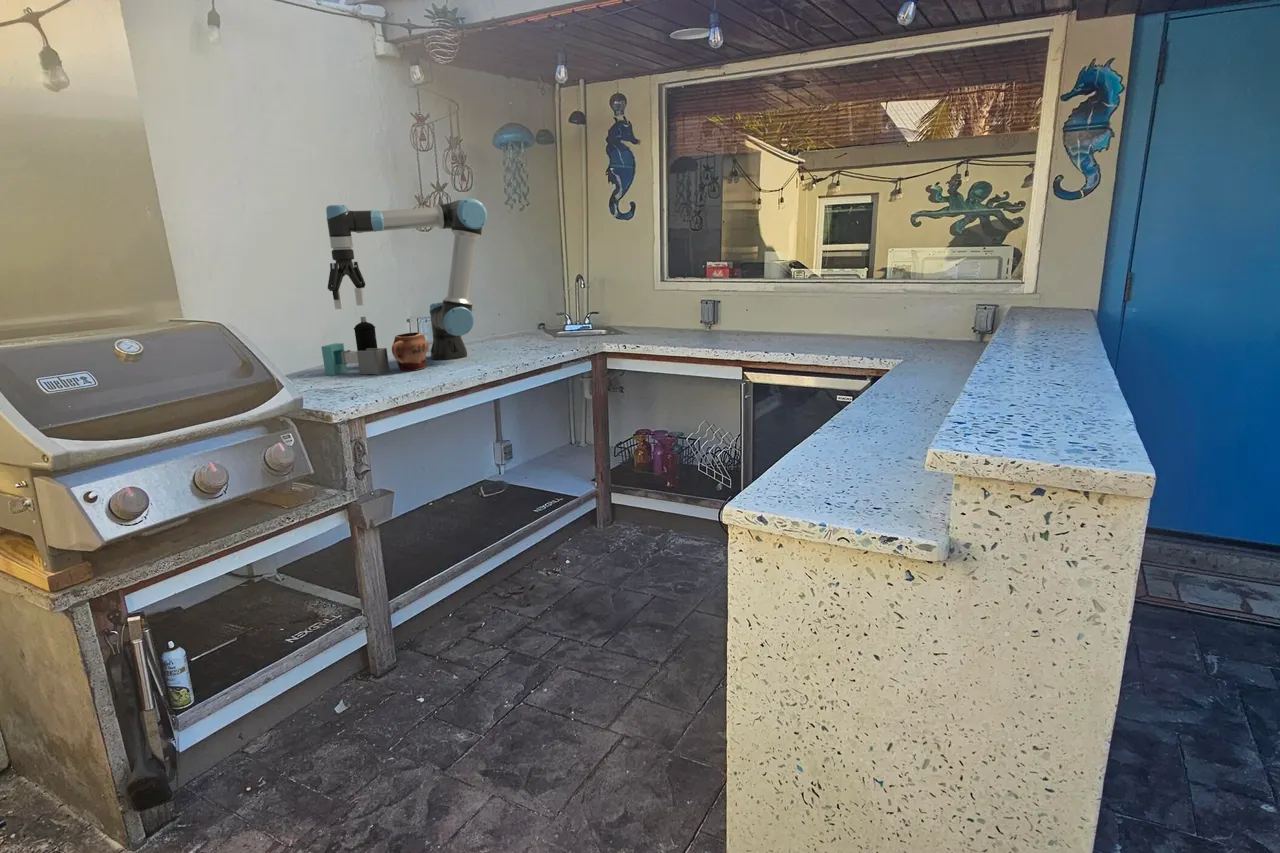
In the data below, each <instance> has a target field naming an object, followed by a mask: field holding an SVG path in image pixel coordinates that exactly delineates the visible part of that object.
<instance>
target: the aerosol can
mask: <svg viewBox="0 0 1280 853" xmlns="http://www.w3.org/2000/svg"><path fill="white" fill-rule="evenodd" d="M353 330H354V336H355V343H356V351H366V349H367V348H378V344H377V343H378V341H377V335H376V326H375V325H374V324H372V322H368V321H367V318H366V316H360V322H359V323H357V324H356V325H355V326H354V327H353Z"/></svg>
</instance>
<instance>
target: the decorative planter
mask: <svg viewBox="0 0 1280 853" xmlns="http://www.w3.org/2000/svg"><path fill="white" fill-rule="evenodd" d="M429 343H430V342H428V340H427V339H426V337H425V336H424V333H422V332H407V333H401V334H397V335H395V337H394V340H393V343H392V346H391V354H392V355H393V357H394V359H395V360H396V362H397V366H398V368H399V370H400V371H401V372H403V371H404V372H407V371H408V372H409V371H410V372H411V371H417V370H422V369H424V368H427V360H426V359H427V357H426V356H427V352H428V350H429V349H430V348H429V347H430V346H429V345H430V344H429Z"/></svg>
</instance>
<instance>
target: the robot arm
mask: <svg viewBox="0 0 1280 853" xmlns="http://www.w3.org/2000/svg"><path fill="white" fill-rule="evenodd" d="M325 211H326V222H327V228H328V236H329V241H330V248H331V249H332V250H331V257H332V260H333V261H335V262H330V264H329V268H330V270H329V276H328V281H327V290H328V291H330V292H332V298H333V302H334V309H335V310H344V307H343V300H342V293H341V292H342V291H341V290H340V287H341V284H342V282H343V279H344V277H345V276H348V278H349V279H350V281H351V282H352V283H353V285H354V288H353V289H354V294H355V303H356V307H357V306H358V307H359V306H364V305H365V302H364V300H365V299H364V294H363V293H364V291H363V289H365V286H366V281H365V279H364V277H363V274H362V273H361V270H360V267H359V263H358V261H353V260H354V259H355V254H354V253H355V252H354V249H352V248H354V244H353V239H352V238H353V237H352V233H357V234H362V233H369V232H371V233H372V232H375V233H376V232H382V231H395V230H407V229H408V230H409V229H411V230H412V229H423V228H425V229H426V228H438V229H440V230H446V229H451V230H450V231H451V232H452V234H453V236H454V238H453V239H454V240H453V248H452V257H451V264H450V265H451V266H450V273H449V280H448V282H449V283H448V288H447V296H445V298H443V299H442V302H435V303H434V302H433V303H431V304H430V305H429V315H430V321H431V322H430V323H431V332H432V340H433V341H432V344H431V347H430V359H431V360H452V359H461V358H465V357H467V356H468V350H467V348H466V346H465V343H464V341H463V338H462V336H466V335H467V334H468V333H469V332H471V330H472V329H473V327H474V323H475V317H474V315H473V313H472V312H473V311H472V310H473V303H472V301H471V300H470V296H471V288H472V279H473V272H474V265H475V264H474V263H475V255H476V247H477V240H478V239H479V238H481V237H482V232H483V231H482V230H483V227H484V226H485V225H486V222H487V220H488V210H487V208H486V206H485V205H484V204H483V202H481V201H479V200H478V199H475V198H469V197H466V198H463V199H458V200H454V201H452V202H448V203H443V204H442V203H441V204H440V203H439V204H436V205H435V206H434V207H432V206H431V207H420V208H417V207H416V208H406V209H389V210H388V209H387V210H374V209H372V210H349V207H348V206H347V205H346V204H331V205H327V206H326V209H325Z"/></svg>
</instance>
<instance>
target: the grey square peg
mask: <svg viewBox="0 0 1280 853" xmlns="http://www.w3.org/2000/svg"><path fill="white" fill-rule="evenodd" d="M341 356H342V363H343V365H345V364H346V365H348V364H358V357H357V350H350V349H348V350H344V351H343V352H341Z"/></svg>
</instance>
